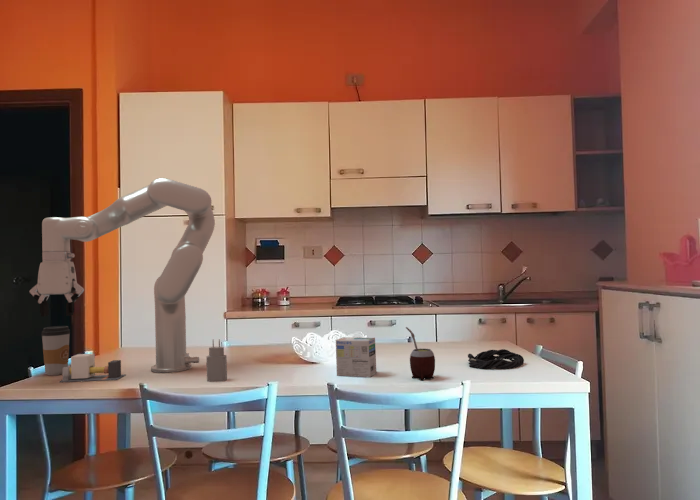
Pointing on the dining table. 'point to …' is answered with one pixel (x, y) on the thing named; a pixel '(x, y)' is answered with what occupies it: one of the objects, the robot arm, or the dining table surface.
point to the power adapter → (216, 364)
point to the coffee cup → (55, 349)
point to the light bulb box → (356, 356)
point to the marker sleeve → (82, 365)
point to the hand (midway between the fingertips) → (57, 315)
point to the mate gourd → (421, 362)
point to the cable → (495, 359)
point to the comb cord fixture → (111, 369)
